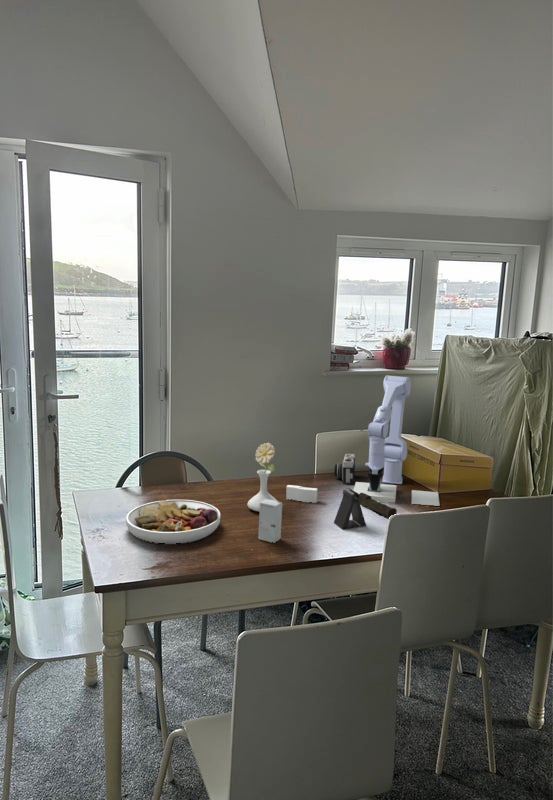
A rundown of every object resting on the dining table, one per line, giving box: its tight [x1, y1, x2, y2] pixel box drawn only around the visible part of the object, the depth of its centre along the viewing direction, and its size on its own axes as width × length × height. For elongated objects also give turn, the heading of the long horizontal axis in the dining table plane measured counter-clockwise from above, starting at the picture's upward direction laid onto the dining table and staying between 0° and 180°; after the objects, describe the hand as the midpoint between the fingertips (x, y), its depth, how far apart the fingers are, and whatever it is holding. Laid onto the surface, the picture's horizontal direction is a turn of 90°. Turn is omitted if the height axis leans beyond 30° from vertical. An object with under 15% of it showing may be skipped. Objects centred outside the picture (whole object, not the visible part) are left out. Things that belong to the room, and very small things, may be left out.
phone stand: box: [333, 487, 367, 530], centre depth 203 cm, size 9×6×12 cm, turn 112°
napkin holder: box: [285, 484, 318, 504], centre depth 227 cm, size 15×11×6 cm
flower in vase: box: [246, 442, 278, 512], centre depth 214 cm, size 13×11×25 cm
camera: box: [333, 453, 356, 485], centre depth 254 cm, size 14×9×10 cm, turn 162°
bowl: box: [125, 499, 221, 545], centre depth 197 cm, size 30×30×8 cm
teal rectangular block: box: [369, 477, 382, 492], centre depth 234 cm, size 4×4×7 cm
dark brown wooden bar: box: [359, 493, 398, 519], centre depth 218 cm, size 19×4×5 cm, turn 29°
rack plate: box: [352, 481, 398, 503], centre depth 235 cm, size 16×16×2 cm
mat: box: [411, 489, 440, 506], centre depth 231 cm, size 16×10×1 cm, turn 167°
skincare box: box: [257, 499, 283, 544], centre depth 189 cm, size 6×4×12 cm
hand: (374, 487), depth 235 cm, fingers open, 7 cm apart
